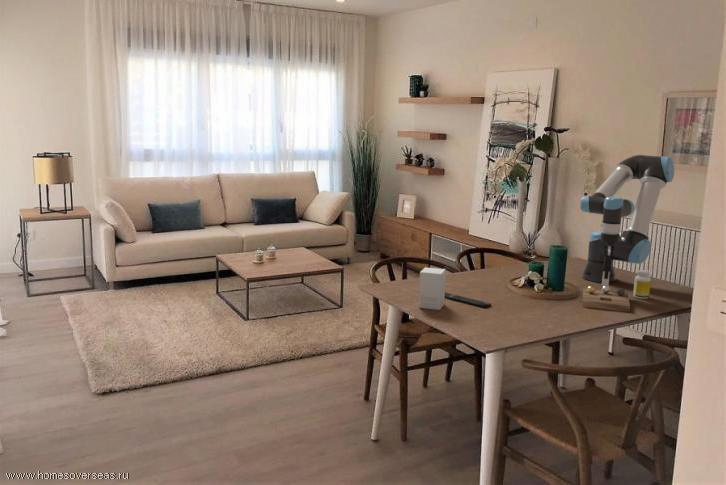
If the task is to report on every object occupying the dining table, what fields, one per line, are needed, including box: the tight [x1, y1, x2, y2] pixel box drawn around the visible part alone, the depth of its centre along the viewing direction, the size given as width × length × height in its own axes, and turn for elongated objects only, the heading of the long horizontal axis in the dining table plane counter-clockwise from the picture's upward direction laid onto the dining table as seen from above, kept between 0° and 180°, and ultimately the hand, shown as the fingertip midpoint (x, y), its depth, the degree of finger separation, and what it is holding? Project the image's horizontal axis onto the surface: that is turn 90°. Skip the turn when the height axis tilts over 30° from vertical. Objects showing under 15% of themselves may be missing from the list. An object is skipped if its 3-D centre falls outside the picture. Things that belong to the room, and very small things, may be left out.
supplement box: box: [418, 266, 447, 311], centre depth 258 cm, size 9×9×15 cm
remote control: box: [445, 292, 492, 309], centre depth 267 cm, size 5×24×1 cm, turn 48°
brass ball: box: [586, 285, 596, 294], centre depth 273 cm, size 3×3×3 cm
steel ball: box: [601, 285, 611, 293], centre depth 274 cm, size 3×3×3 cm
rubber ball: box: [616, 287, 626, 295], centre depth 271 cm, size 3×3×3 cm
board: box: [581, 287, 631, 313], centre depth 269 cm, size 20×18×2 cm
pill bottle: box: [632, 269, 652, 300], centre depth 277 cm, size 6×6×12 cm
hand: (605, 285), depth 281 cm, fingers closed
